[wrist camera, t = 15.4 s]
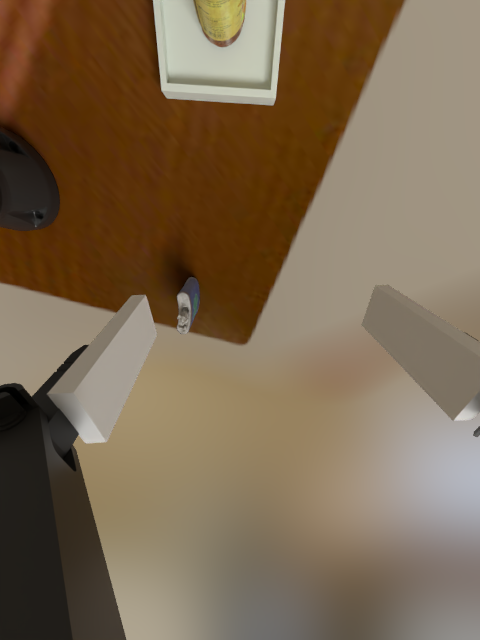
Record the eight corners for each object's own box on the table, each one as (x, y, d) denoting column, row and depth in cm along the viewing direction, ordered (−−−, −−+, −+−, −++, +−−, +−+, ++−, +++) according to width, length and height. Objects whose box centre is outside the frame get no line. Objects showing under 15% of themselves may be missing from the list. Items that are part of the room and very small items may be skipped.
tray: (166, 98, 32) (161, 90, 30) (149, -98, 24) (140, -128, 22) (273, 105, 32) (275, 98, 30) (290, -86, 24) (295, -114, 22)
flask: (187, 275, 45) (173, 295, 36) (200, 277, 45) (191, 297, 36) (186, 313, 50) (174, 340, 40) (199, 315, 50) (189, 341, 41)
